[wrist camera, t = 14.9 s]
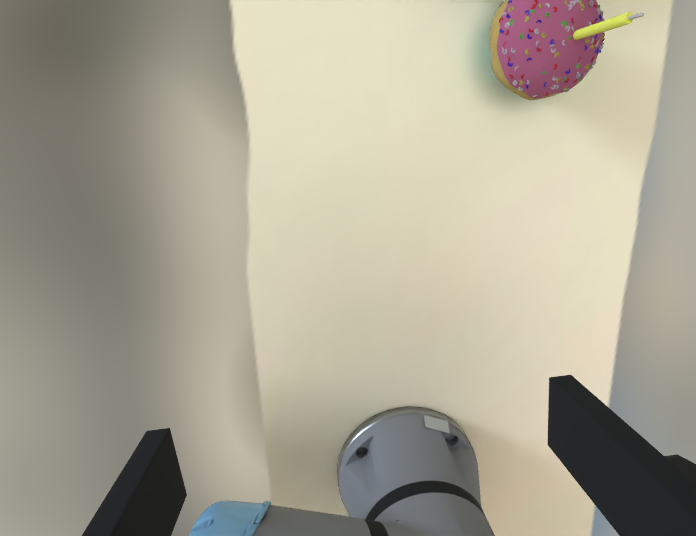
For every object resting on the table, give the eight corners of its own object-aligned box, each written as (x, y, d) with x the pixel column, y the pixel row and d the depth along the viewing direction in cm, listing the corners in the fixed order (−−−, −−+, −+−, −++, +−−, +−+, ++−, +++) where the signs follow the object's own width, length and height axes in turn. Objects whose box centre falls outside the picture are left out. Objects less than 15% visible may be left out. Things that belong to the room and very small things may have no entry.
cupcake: (578, 8, 36) (700, -61, 24) (551, 112, 38) (653, 94, 26) (482, -10, 35) (562, -91, 23) (461, 97, 37) (525, 71, 26)
